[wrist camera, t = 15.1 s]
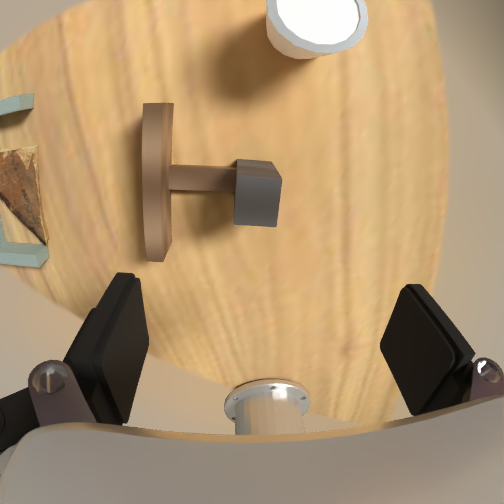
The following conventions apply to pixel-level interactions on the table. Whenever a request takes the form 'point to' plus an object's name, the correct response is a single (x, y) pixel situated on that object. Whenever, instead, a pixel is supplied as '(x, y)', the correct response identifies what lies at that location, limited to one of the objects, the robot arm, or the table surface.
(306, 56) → the shot glass
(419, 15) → the table surface
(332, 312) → the table surface
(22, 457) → the robot arm
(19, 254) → the bracket
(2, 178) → the shard
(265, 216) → the wall doorstop
